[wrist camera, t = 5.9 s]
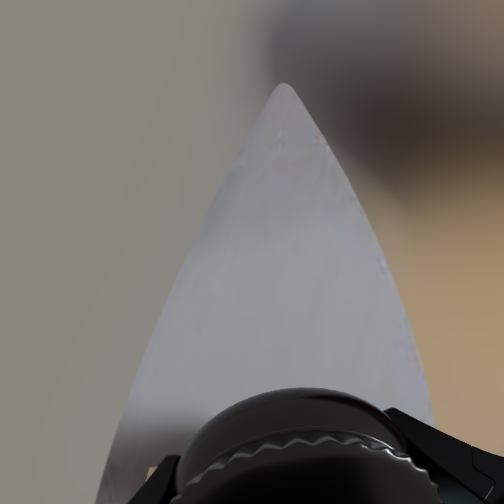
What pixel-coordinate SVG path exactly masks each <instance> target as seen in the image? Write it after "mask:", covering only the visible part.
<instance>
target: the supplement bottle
mask: <svg viewBox="0 0 504 504" xmlns="http://www.w3.org/2000/svg"><path fill="white" fill-rule="evenodd" d="M170 504H445V501H444V500H443V499H442V498H441V497H440V496H439V485H438V484H437V483H436V482H435V481H433V480H431V479H430V478H429V473H428V470H427V469H426V468H425V467H424V466H421V465H418V464H415V463H414V458H413V454H412V451H411V448H410V446H409V443H408V441H407V439H406V437H405V435H404V434H403V432H402V431H401V429H400V428H399V427H398V426H397V425H396V423H395V422H394V421H393V420H392V419H391V418H390V417H389V416H388V415H387V414H385V413H384V412H383V411H381V410H380V409H379V408H377V407H376V406H374V405H372V404H371V403H369V402H367V401H365V400H363V399H361V398H359V397H356V396H353V395H350V394H347V393H344V392H340V391H336V390H329V389H323V388H287V389H281V390H274V391H270V392H266V393H262V394H259V395H256V396H253V397H250V398H248V399H245V400H243V401H240V402H238V403H236V404H234V405H233V406H231V407H229V408H227V409H225V410H224V411H222V412H221V413H219V414H218V415H216V416H215V417H214V418H212V419H211V420H210V421H208V422H207V423H206V424H205V425H204V426H203V427H202V428H201V429H200V430H199V431H198V432H197V433H196V434H195V435H194V437H193V438H192V439H191V441H190V442H189V443H188V445H187V447H186V448H185V450H184V452H183V454H182V456H181V458H180V460H179V463H178V465H177V469H176V472H175V477H174V484H173V498H172V499H171V501H170Z"/></svg>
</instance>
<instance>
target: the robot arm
mask: <svg viewBox="0 0 504 504" xmlns="http://www.w3.org/2000/svg"><path fill="white" fill-rule="evenodd" d="M383 412H384V413H385V414H387V415H388V416H389V417H390V418H391V419H392V420H393V421H394V422H395V423H396V425H397V426H398V427H399V428H400V429H401V431H402V432H403V434H404V435H405V437H406V439H407V441H408V443H409V446H410V448H411V451H412V454H413V458H414V463H415V464H418V465H421V466H424V467H425V468H426V469H427V470H428V473H429V478H430V479H431V480H433V481H435V482H436V483H437V484H438V485H439V496H440V497H441V498H442V499H443V500H444V501H445V504H504V457H501V456H498V455H495V454H491V453H489V452H486V451H483V450H481V449H478V448H476V447H474V446H472V447H471V445H469V444H467V443H465V442H463V441H460V440H458V439H456V438H453V437H452V436H450V435H447V434H445V433H443V432H441V431H439V430H437V429H435V428H433V427H431V426H429V425H427V424H425V423H423V422H421V421H419V420H417V419H415V418H413V417H411V416H409V415H407V414H405V413H403V412H402V411H400V410H398V409H396V408H393V407H392V408H389V409H386V410H384V411H383ZM180 458H181V456H180V455H178V454H173V455H167V456H166V457H165V458H164V459H163V461H162V462H161V463H160V465H159V466H158V467H157V468H156V470H155V471H154V472H153V473H152V475H151V476H150V477H149V478H148V479H147V481H146V482H145V483H144V484H143V486H142V487H141V488H140V489H139V490H138V492H137V493H136V494H135V495H134V496H133V498H132V499H131V500H130V501H129V502H128V504H170V501H171V499H172V498H173V484H174V477H175V472H176V469H177V465H178V463H179V460H180Z"/></svg>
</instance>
